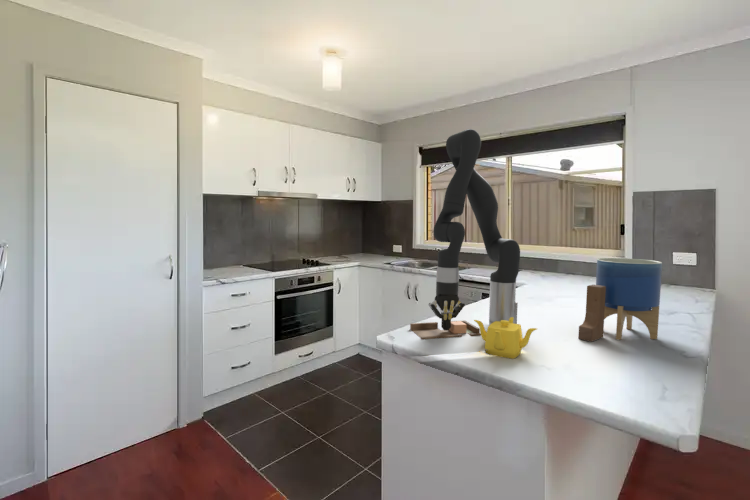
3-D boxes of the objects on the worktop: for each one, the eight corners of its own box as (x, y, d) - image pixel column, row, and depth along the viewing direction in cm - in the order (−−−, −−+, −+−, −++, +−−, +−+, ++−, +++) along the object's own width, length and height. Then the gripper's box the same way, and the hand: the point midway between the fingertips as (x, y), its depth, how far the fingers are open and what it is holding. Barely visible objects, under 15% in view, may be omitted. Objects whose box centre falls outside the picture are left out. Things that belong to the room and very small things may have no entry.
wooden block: (591, 342, 129) (594, 288, 128) (577, 338, 133) (580, 286, 131) (603, 337, 135) (606, 286, 133) (590, 334, 138) (592, 284, 137)
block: (460, 329, 138) (461, 321, 138) (466, 333, 134) (466, 324, 133) (448, 330, 137) (449, 321, 137) (454, 333, 133) (454, 325, 132)
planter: (587, 333, 139) (590, 260, 137) (600, 323, 153) (604, 256, 151) (652, 346, 126) (657, 265, 124) (661, 333, 140) (665, 260, 138)
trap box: (464, 329, 143) (464, 320, 143) (480, 339, 131) (481, 329, 131) (410, 333, 138) (410, 323, 138) (422, 343, 126) (422, 333, 126)
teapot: (495, 361, 111) (496, 328, 110) (471, 346, 125) (472, 316, 124) (539, 357, 114) (540, 325, 114) (511, 343, 128) (512, 314, 127)
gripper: (460, 278, 138) (458, 326, 140) (425, 278, 135) (424, 327, 137) (470, 281, 131) (468, 332, 132) (433, 282, 128) (431, 333, 129)
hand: (445, 329), depth 134 cm, fingers closed
